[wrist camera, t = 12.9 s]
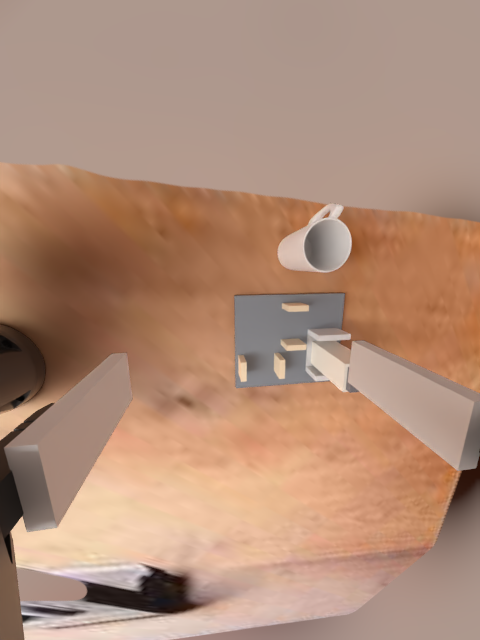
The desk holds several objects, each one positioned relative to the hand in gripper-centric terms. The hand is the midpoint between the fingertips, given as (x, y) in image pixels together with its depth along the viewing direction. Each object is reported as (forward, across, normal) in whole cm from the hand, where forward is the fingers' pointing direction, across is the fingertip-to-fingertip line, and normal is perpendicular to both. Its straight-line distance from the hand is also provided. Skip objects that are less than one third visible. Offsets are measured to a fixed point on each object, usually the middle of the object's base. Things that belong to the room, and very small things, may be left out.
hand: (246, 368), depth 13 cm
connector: (+28, +20, -10) cm, 35 cm away
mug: (+29, +14, +10) cm, 34 cm away
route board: (+29, +13, -8) cm, 33 cm away
